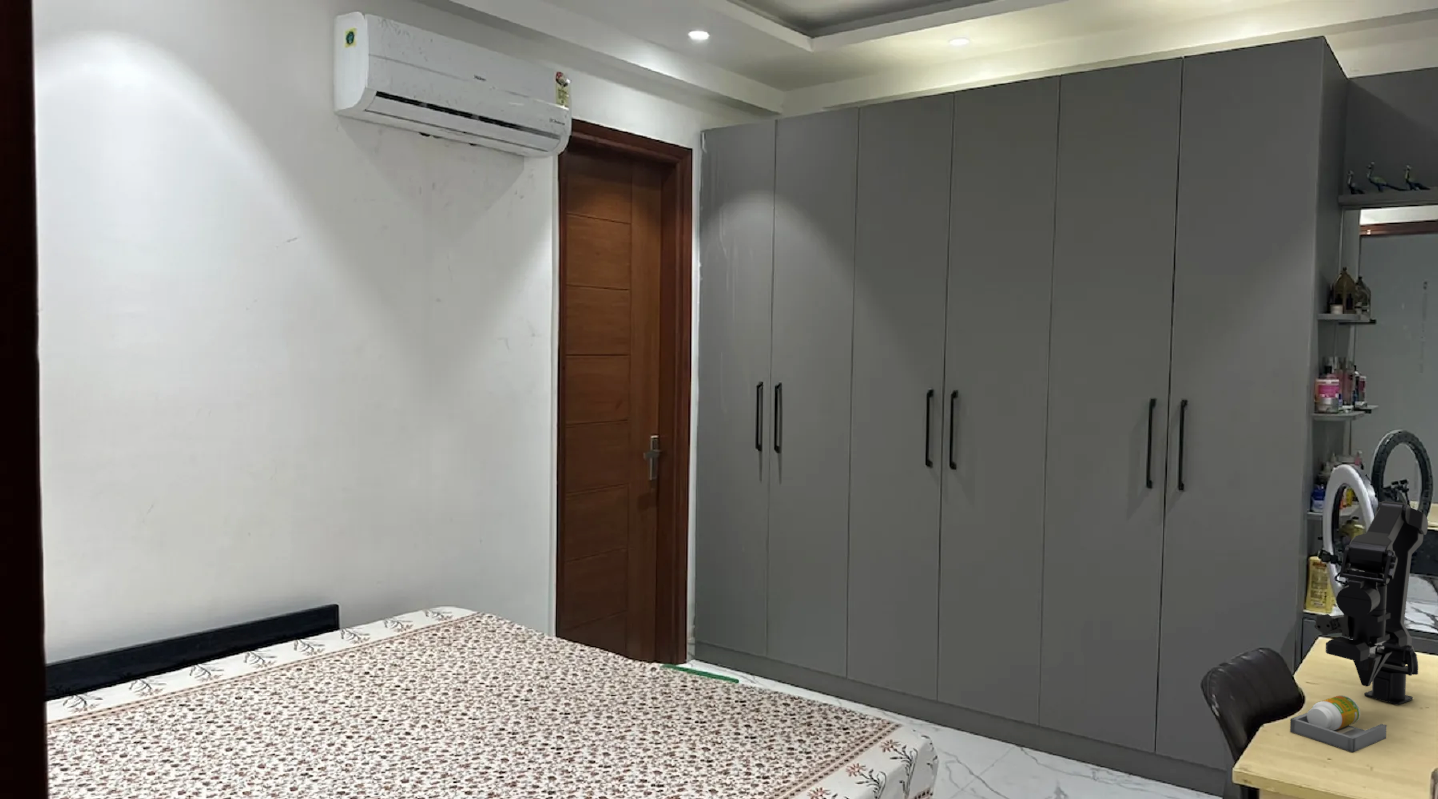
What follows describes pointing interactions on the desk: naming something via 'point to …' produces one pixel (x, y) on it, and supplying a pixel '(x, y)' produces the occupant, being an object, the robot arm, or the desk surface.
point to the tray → (1338, 734)
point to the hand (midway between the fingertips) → (1365, 685)
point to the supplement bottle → (1334, 713)
